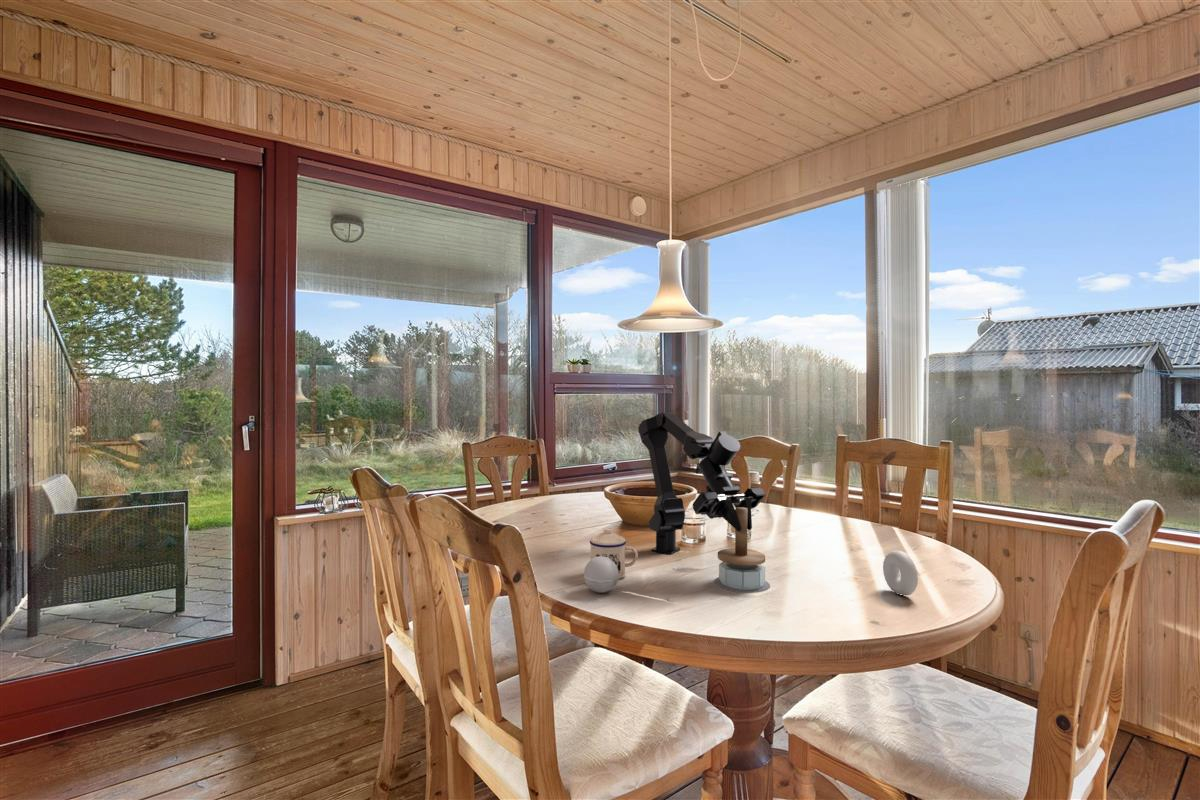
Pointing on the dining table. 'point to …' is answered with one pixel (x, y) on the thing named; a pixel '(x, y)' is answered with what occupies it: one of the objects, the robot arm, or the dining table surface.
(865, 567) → the dining table surface
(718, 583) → the trivet
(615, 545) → the teacup with lid
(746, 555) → the lid
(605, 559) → the bath bomb
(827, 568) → the dining table surface
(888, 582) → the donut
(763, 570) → the bowl
